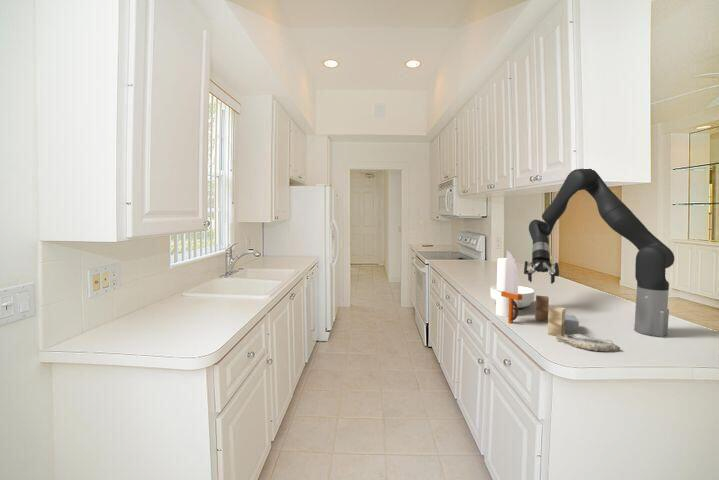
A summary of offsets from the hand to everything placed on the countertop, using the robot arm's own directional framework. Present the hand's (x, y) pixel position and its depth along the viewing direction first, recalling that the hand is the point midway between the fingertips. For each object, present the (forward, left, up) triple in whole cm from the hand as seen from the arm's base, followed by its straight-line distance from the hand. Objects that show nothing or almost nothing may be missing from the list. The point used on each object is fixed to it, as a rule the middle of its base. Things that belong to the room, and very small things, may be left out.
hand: (541, 281), depth 158 cm
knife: (+1, +23, -15) cm, 27 cm away
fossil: (-28, +24, -15) cm, 40 cm away
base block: (-16, +13, -15) cm, 25 cm away
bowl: (+15, -2, -15) cm, 21 cm away
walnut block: (-5, +9, -15) cm, 18 cm away
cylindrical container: (+9, +14, -15) cm, 22 cm away
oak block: (-17, +22, -15) cm, 32 cm away
